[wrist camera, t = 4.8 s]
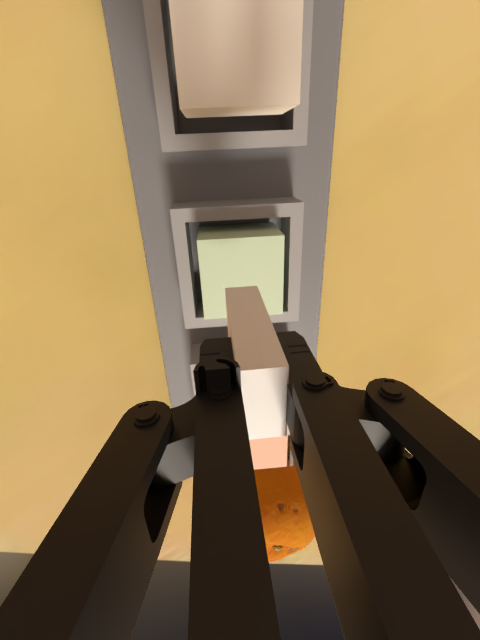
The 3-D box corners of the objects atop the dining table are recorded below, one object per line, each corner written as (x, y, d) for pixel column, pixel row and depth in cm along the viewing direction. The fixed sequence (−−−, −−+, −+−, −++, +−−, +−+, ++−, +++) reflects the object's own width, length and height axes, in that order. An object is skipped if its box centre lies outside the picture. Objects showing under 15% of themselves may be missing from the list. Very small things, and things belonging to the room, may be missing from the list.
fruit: (267, 514, 40) (279, 592, 33) (197, 481, 36) (193, 561, 29) (329, 464, 37) (358, 539, 30) (259, 423, 33) (273, 497, 26)
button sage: (205, 295, 24) (204, 319, 21) (198, 226, 22) (196, 240, 19) (272, 290, 25) (282, 314, 21) (272, 222, 22) (284, 235, 19)
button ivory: (186, 118, 17) (179, 108, 14) (173, -12, 15) (161, -64, 11) (281, 114, 17) (299, 104, 14) (283, -14, 15) (306, -66, 12)
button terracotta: (216, 431, 27) (217, 473, 23) (211, 382, 25) (211, 420, 21) (276, 425, 27) (286, 466, 24) (277, 376, 25) (288, 413, 21)
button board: (177, 422, 32) (172, 458, 28) (98, -50, 17) (66, -106, 14) (308, 411, 33) (320, 444, 29) (341, -53, 18) (375, -107, 14)
